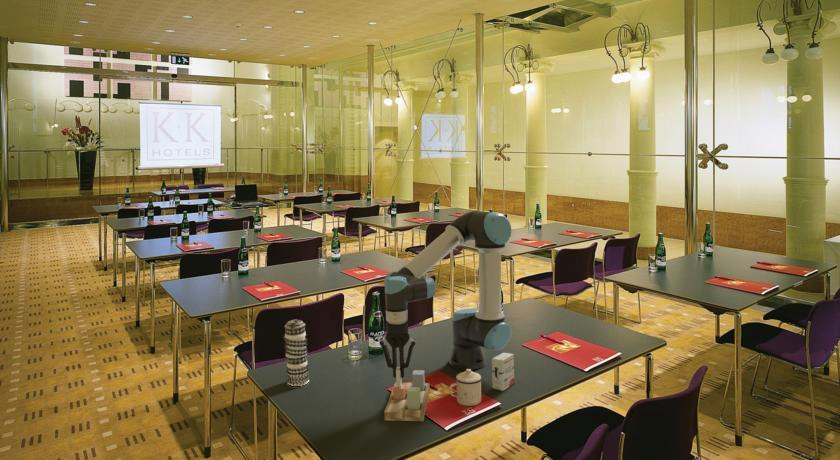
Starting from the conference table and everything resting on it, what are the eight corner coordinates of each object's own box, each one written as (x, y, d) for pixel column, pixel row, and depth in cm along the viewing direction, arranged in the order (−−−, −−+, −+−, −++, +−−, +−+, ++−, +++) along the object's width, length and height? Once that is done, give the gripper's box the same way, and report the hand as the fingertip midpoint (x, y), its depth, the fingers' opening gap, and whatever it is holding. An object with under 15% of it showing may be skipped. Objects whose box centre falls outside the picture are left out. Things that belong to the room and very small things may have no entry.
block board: (429, 390, 209) (429, 383, 209) (423, 421, 186) (423, 412, 185) (395, 390, 211) (395, 382, 210) (384, 420, 187) (384, 411, 187)
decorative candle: (289, 378, 225) (285, 318, 222) (312, 377, 225) (309, 317, 221) (283, 387, 216) (279, 325, 212) (307, 387, 216) (303, 324, 212)
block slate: (424, 386, 206) (424, 370, 206) (423, 390, 203) (423, 374, 202) (414, 386, 207) (413, 370, 206) (412, 390, 203) (412, 374, 202)
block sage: (420, 404, 192) (420, 387, 191) (419, 409, 188) (418, 392, 187) (409, 404, 192) (408, 387, 191) (407, 409, 188) (406, 392, 187)
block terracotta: (406, 400, 200) (405, 384, 199) (404, 405, 196) (404, 388, 195) (395, 400, 200) (394, 384, 200) (393, 405, 197) (392, 388, 196)
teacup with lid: (475, 393, 205) (475, 363, 204) (485, 404, 197) (485, 372, 195) (445, 398, 202) (444, 368, 200) (454, 409, 193) (453, 377, 192)
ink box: (503, 380, 216) (503, 351, 215) (514, 383, 213) (514, 354, 212) (491, 388, 210) (491, 357, 208) (502, 391, 207) (502, 360, 205)
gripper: (376, 324, 191) (379, 390, 194) (414, 324, 190) (416, 390, 193) (380, 318, 199) (382, 381, 202) (416, 318, 197) (418, 382, 200)
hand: (399, 385), depth 197 cm, fingers closed
